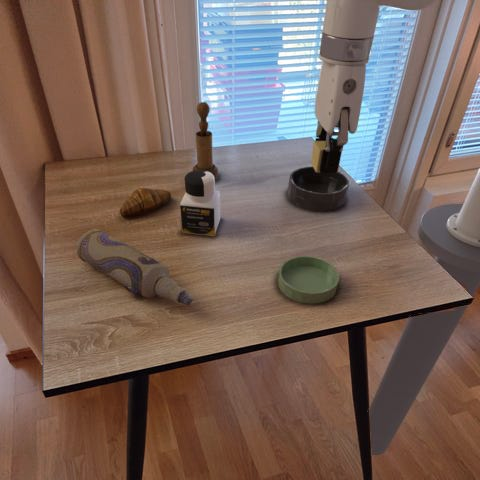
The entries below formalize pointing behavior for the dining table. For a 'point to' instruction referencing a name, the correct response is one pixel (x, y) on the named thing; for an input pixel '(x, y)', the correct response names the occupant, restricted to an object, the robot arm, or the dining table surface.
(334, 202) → the bowl
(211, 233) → the medicine bottle
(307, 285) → the dish
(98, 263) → the decorative bottle
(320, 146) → the yellow cube
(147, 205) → the croissant
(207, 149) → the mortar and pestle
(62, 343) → the dining table surface
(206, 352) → the dining table surface
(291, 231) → the dining table surface
